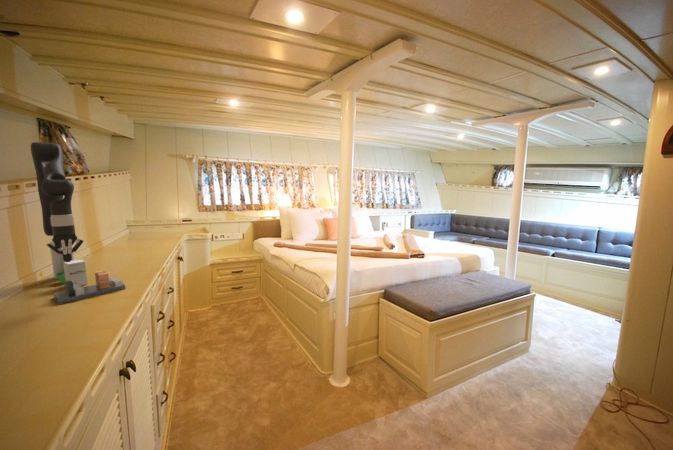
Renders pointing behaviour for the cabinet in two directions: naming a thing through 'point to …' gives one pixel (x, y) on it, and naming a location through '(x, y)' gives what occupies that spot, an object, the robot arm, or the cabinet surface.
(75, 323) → the cabinet surface
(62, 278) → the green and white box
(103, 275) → the block
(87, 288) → the vise
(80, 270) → the supplement box
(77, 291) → the sliding jaw
